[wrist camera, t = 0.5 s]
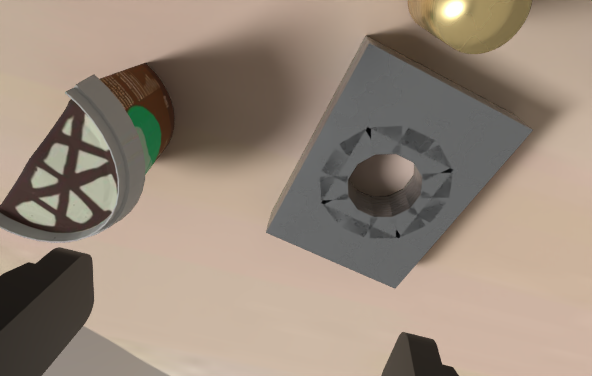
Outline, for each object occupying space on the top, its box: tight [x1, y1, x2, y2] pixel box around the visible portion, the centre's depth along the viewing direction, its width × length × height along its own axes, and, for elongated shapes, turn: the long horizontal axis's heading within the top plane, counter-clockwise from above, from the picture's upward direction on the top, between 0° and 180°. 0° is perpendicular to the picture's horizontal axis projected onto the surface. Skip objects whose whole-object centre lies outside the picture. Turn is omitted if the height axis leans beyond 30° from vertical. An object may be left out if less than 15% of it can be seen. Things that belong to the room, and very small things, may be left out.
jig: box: [266, 36, 533, 288], centre depth 29 cm, size 16×12×3 cm
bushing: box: [408, 0, 532, 54], centre depth 20 cm, size 4×4×8 cm
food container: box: [0, 63, 174, 243], centre depth 26 cm, size 12×6×10 cm, turn 135°
